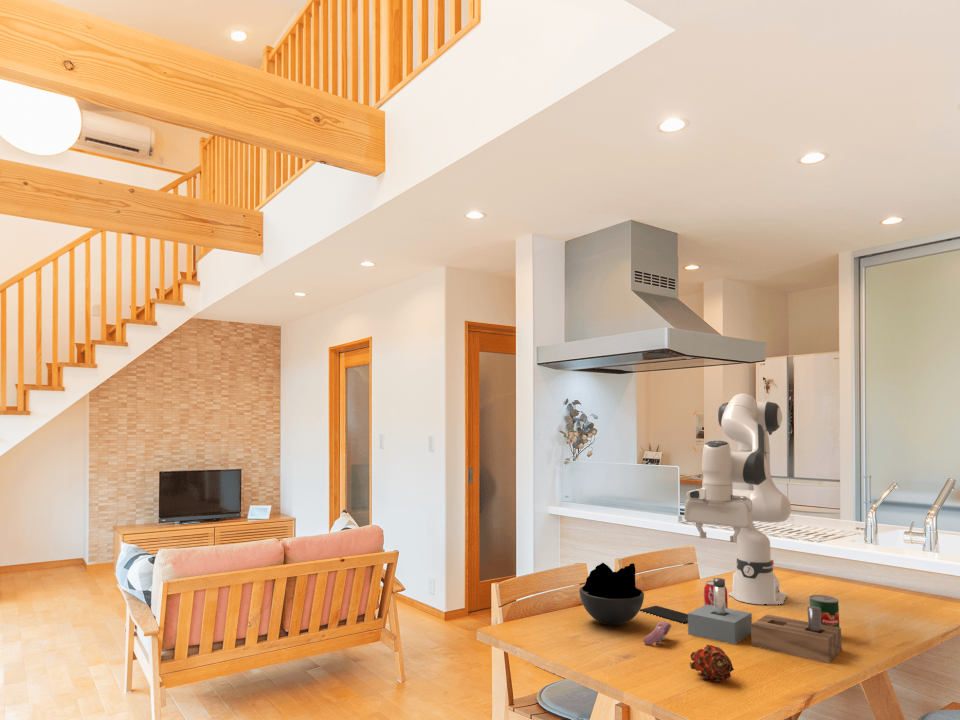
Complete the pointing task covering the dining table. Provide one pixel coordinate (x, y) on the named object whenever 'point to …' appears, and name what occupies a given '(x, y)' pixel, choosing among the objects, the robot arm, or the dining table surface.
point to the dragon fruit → (712, 663)
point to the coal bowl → (612, 595)
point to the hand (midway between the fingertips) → (718, 540)
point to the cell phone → (667, 614)
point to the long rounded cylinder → (719, 596)
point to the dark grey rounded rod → (814, 619)
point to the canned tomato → (827, 609)
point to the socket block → (720, 624)
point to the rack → (796, 638)
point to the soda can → (712, 594)
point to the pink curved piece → (657, 633)
